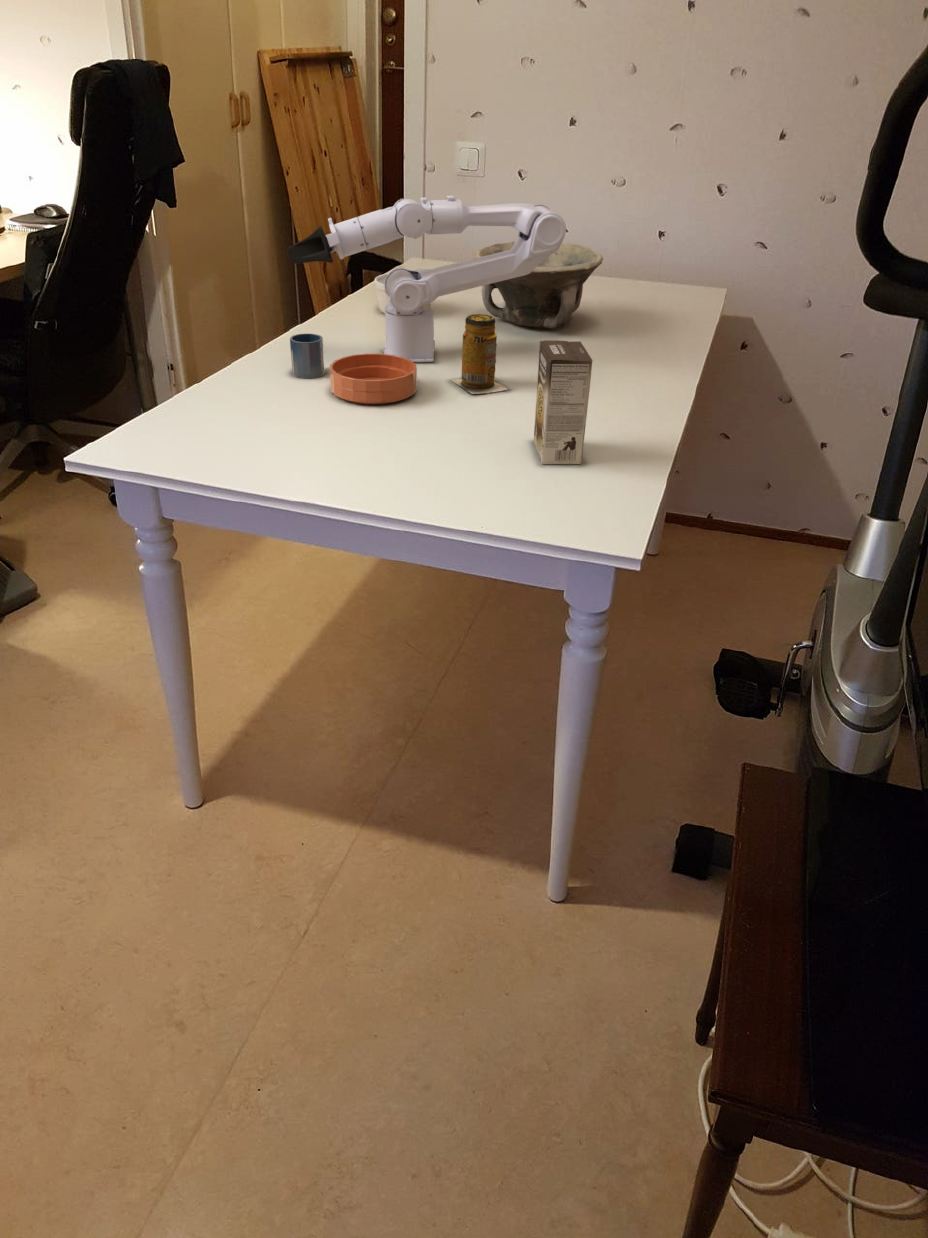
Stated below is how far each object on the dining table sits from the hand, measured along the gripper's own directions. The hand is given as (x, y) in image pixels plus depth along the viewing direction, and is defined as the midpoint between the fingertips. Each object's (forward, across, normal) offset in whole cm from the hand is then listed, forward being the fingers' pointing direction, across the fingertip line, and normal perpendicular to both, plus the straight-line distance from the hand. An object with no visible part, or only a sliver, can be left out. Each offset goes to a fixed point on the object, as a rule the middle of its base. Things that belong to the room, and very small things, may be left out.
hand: (290, 256), depth 169 cm
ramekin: (-19, -38, +16) cm, 46 cm away
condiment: (-25, +10, +31) cm, 41 cm away
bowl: (-45, -29, +26) cm, 59 cm away
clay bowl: (-7, +12, +26) cm, 30 cm away
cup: (+4, +2, +20) cm, 21 cm away
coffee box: (-30, +40, +41) cm, 65 cm away
